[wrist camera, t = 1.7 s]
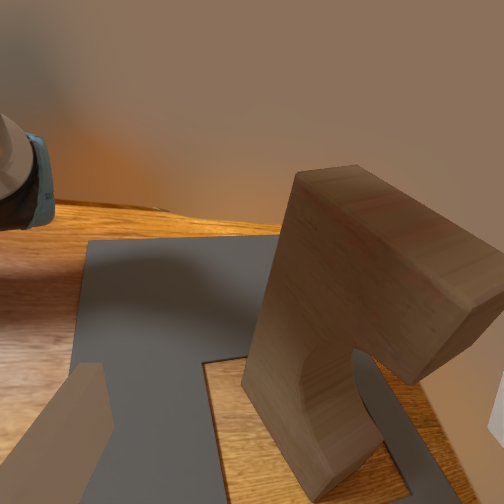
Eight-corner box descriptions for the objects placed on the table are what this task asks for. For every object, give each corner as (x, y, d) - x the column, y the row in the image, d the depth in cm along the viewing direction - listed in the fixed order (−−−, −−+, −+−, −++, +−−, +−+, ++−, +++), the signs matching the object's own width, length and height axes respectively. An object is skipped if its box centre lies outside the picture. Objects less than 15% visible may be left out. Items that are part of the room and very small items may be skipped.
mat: (88, 242, 61) (88, 240, 61) (294, 235, 74) (295, 234, 73) (28, 662, 24) (26, 662, 24) (459, 504, 37) (461, 503, 37)
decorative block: (360, 467, 38) (540, 271, 20) (311, 506, 35) (476, 309, 16) (284, 362, 48) (360, 164, 29) (239, 384, 44) (293, 172, 26)
